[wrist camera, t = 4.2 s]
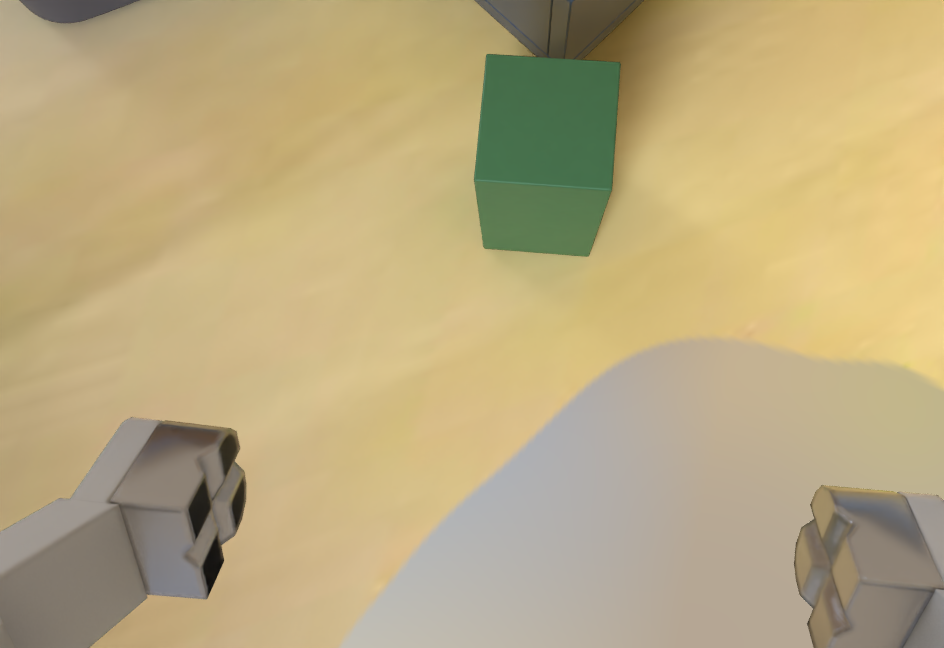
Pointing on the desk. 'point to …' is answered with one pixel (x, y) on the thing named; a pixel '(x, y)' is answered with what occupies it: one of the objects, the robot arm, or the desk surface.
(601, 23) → the dark blue tray
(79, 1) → the streaming box
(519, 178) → the green block
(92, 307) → the desk surface
